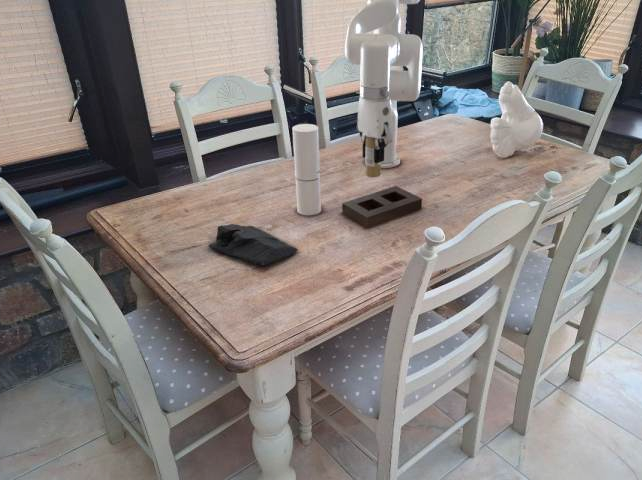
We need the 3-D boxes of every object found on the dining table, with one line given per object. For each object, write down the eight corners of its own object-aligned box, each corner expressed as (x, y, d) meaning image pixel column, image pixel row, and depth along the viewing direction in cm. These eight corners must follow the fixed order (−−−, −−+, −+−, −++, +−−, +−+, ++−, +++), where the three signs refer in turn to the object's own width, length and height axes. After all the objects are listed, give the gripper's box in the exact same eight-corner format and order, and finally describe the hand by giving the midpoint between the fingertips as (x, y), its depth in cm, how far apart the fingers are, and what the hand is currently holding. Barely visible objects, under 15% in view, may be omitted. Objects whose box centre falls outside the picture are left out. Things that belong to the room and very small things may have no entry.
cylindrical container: (324, 207, 164) (322, 125, 150) (315, 216, 159) (312, 133, 145) (303, 203, 166) (298, 122, 152) (293, 213, 161) (288, 130, 147)
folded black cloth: (259, 275, 132) (257, 259, 129) (204, 247, 144) (201, 231, 141) (303, 252, 142) (302, 236, 139) (248, 226, 154) (246, 211, 151)
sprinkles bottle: (383, 175, 153) (385, 128, 145) (370, 179, 151) (371, 131, 143) (374, 170, 156) (375, 124, 148) (361, 173, 154) (361, 127, 146)
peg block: (342, 213, 161) (342, 203, 159) (395, 196, 171) (395, 185, 169) (367, 228, 153) (367, 217, 151) (421, 209, 163) (422, 198, 161)
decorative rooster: (521, 121, 214) (495, 73, 198) (555, 123, 201) (530, 73, 186) (486, 170, 211) (457, 125, 196) (518, 175, 199) (489, 128, 183)
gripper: (406, 96, 136) (403, 165, 147) (365, 83, 148) (365, 147, 158) (384, 101, 133) (382, 171, 143) (343, 87, 144) (344, 153, 154)
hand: (373, 158), depth 150 cm, fingers closed on sprinkles bottle, 4 cm apart
